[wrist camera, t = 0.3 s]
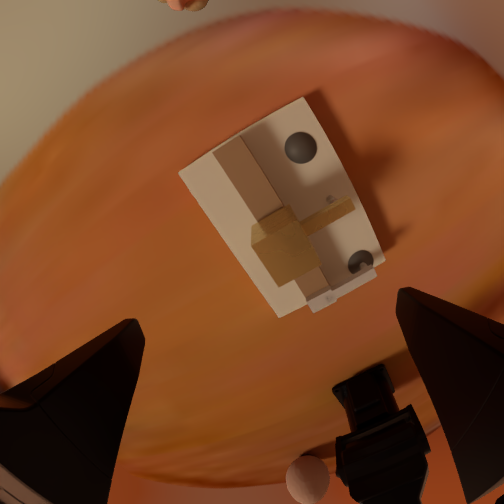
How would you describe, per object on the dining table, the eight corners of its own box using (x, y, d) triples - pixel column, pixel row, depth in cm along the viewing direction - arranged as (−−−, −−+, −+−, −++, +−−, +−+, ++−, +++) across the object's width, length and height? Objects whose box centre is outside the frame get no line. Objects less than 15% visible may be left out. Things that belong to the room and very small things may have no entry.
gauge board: (380, 255, 23) (396, 273, 20) (278, 310, 25) (281, 334, 22) (300, 98, 18) (308, 92, 15) (181, 170, 20) (169, 177, 17)
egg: (288, 448, 35) (292, 500, 27) (330, 446, 35) (339, 495, 27) (281, 464, 38) (283, 510, 29) (319, 463, 38) (325, 507, 30)
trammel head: (348, 210, 20) (374, 234, 15) (273, 252, 21) (278, 287, 16) (329, 174, 19) (352, 188, 14) (251, 218, 20) (250, 245, 15)
